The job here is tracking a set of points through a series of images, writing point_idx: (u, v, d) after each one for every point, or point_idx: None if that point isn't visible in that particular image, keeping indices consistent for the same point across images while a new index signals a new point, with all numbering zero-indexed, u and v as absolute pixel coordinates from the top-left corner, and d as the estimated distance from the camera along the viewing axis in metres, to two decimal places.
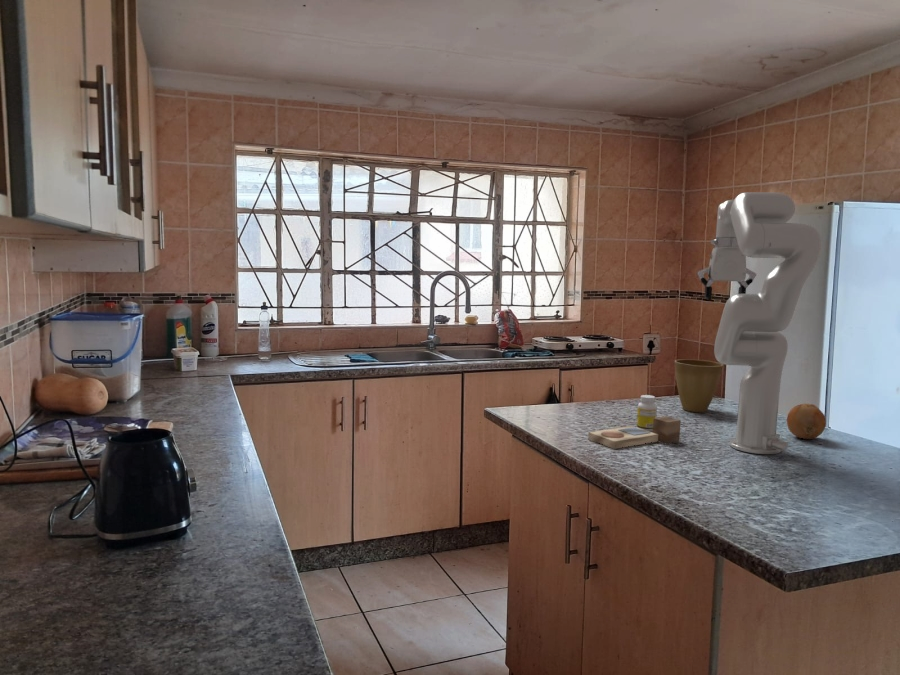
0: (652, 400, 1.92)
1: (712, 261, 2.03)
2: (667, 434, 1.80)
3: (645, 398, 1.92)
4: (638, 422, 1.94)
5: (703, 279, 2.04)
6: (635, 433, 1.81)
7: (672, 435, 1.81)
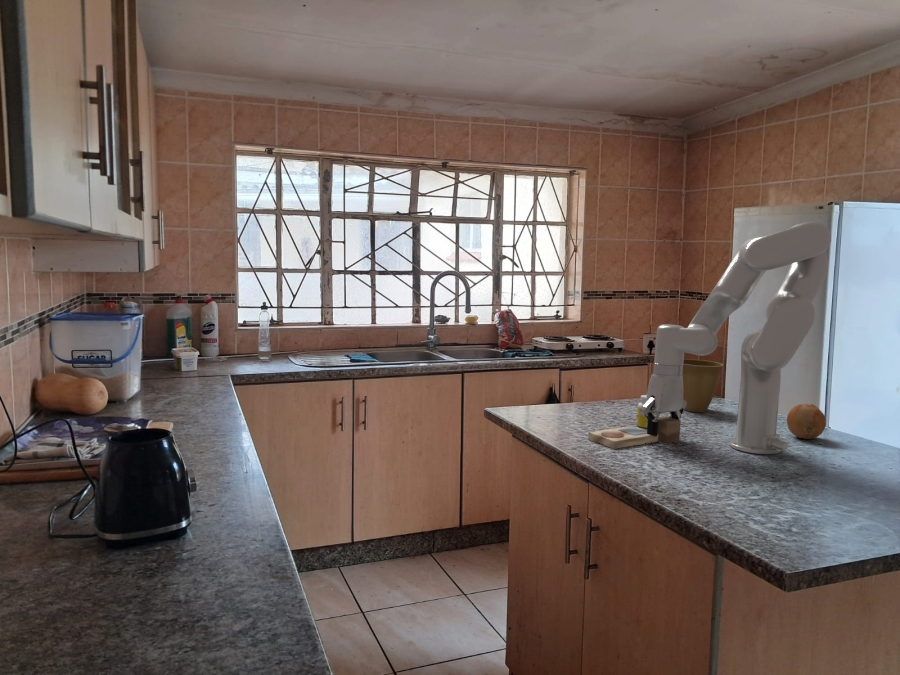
0: None
1: None
2: (667, 434, 1.80)
3: (645, 398, 1.92)
4: (638, 422, 1.94)
5: None
6: (635, 433, 1.81)
7: (672, 435, 1.81)
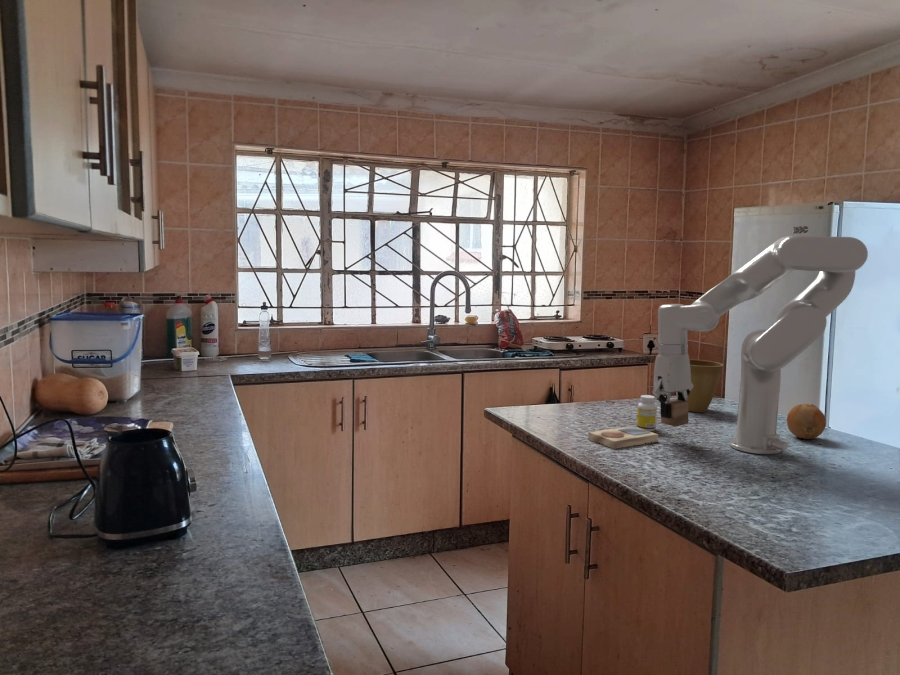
0: (652, 400, 1.92)
1: None
2: (675, 417, 1.78)
3: (645, 398, 1.92)
4: (638, 422, 1.94)
5: None
6: (635, 433, 1.81)
7: (680, 417, 1.79)
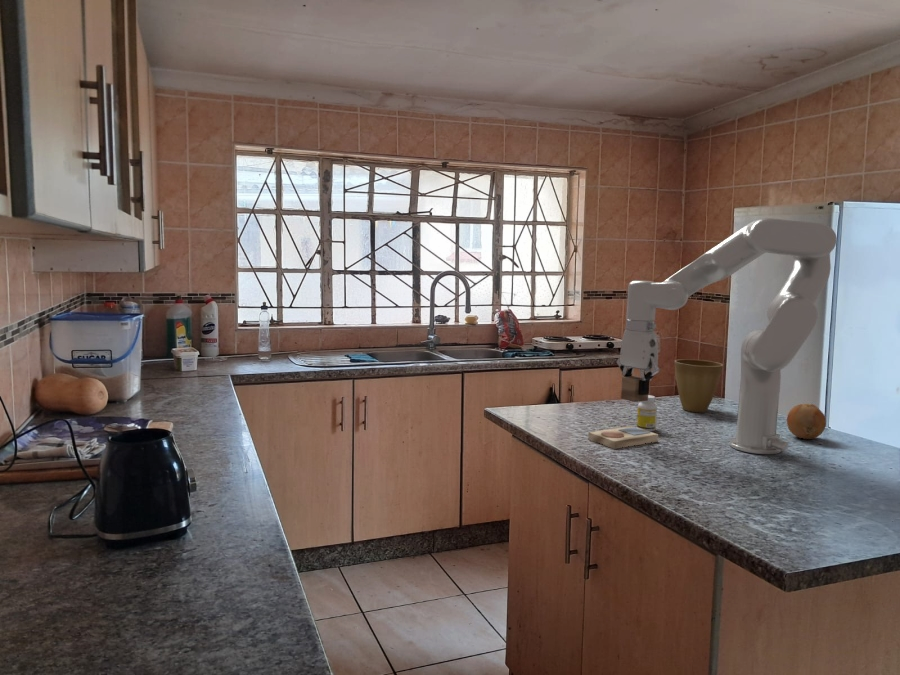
0: (652, 400, 1.92)
1: (656, 348, 1.77)
2: (622, 389, 1.83)
3: None
4: (638, 422, 1.94)
5: None
6: (635, 433, 1.81)
7: (627, 392, 1.81)
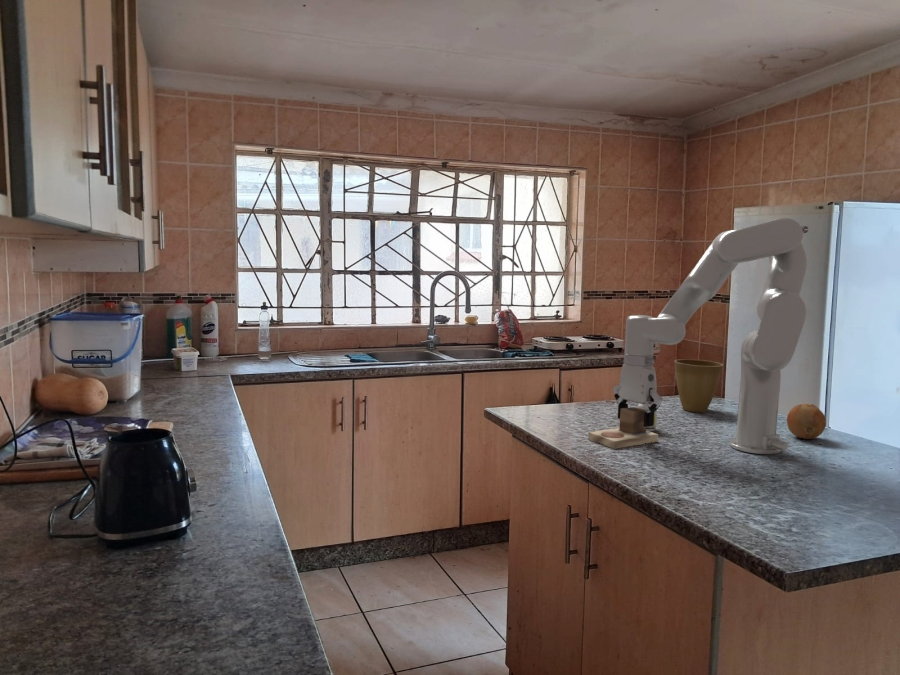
0: None
1: (654, 383, 1.79)
2: (620, 421, 1.84)
3: None
4: None
5: None
6: None
7: (625, 424, 1.82)
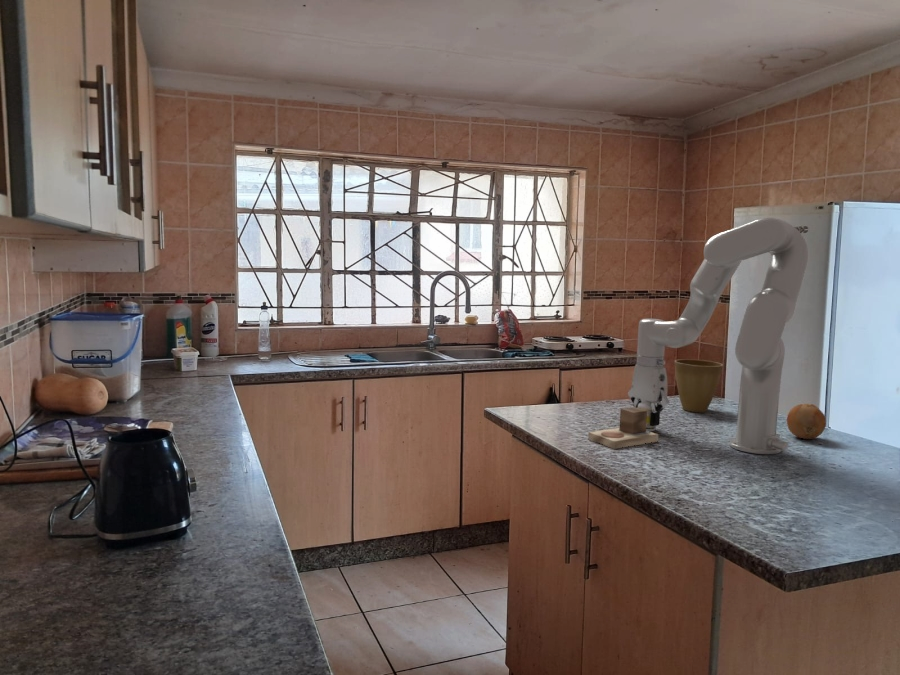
0: None
1: (665, 382, 1.89)
2: (620, 421, 1.84)
3: None
4: None
5: None
6: None
7: (625, 424, 1.82)
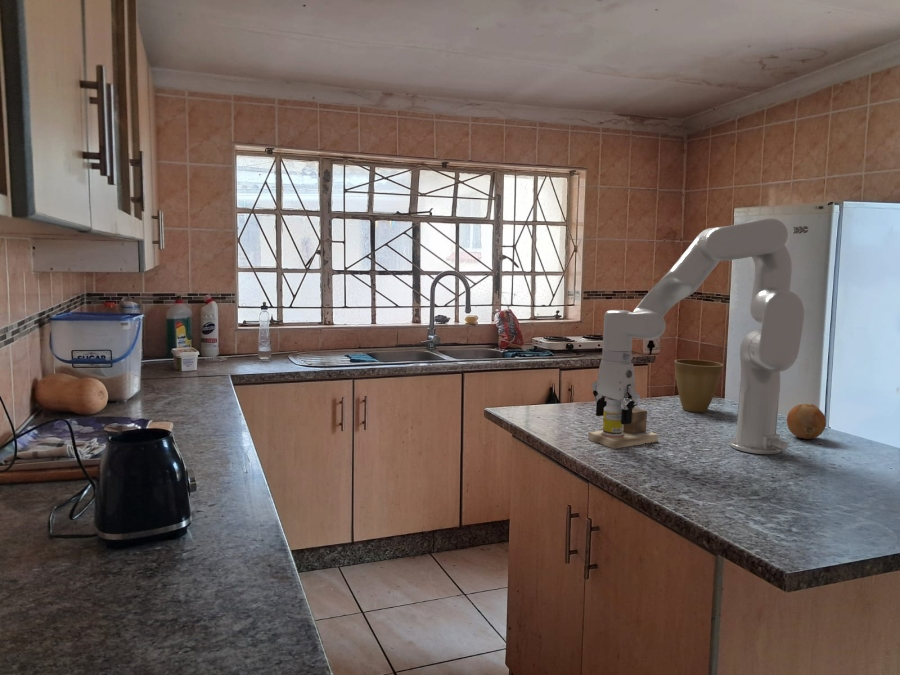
0: (619, 403, 1.77)
1: (633, 379, 1.74)
2: None
3: (611, 400, 1.77)
4: (604, 426, 1.79)
5: None
6: None
7: (625, 424, 1.82)
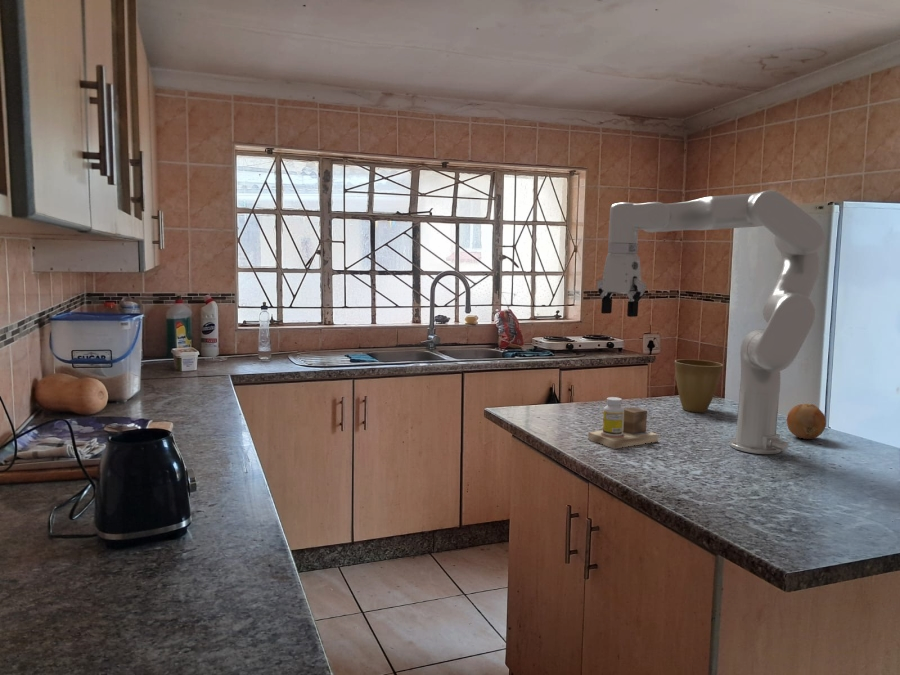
0: (619, 403, 1.77)
1: (639, 271, 1.74)
2: None
3: (611, 400, 1.77)
4: (604, 426, 1.79)
5: None
6: None
7: (625, 424, 1.82)
